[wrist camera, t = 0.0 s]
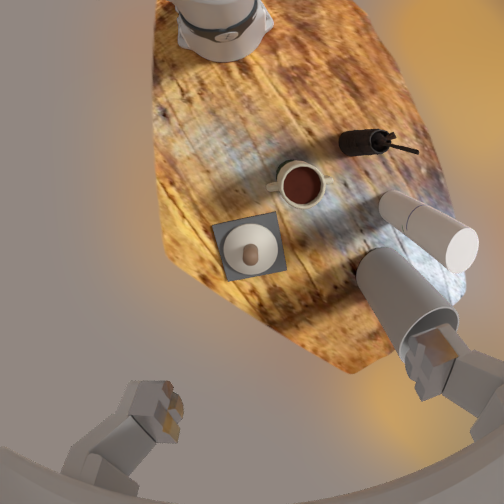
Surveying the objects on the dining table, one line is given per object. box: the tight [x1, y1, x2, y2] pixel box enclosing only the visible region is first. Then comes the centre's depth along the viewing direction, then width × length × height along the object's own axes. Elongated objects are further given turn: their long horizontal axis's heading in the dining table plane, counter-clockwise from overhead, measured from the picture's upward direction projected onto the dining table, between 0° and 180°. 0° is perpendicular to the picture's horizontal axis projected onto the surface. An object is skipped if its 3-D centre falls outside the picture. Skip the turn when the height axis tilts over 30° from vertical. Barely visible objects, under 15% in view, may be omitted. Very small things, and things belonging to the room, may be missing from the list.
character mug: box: [266, 160, 334, 209], centre depth 46 cm, size 11×7×13 cm, turn 99°
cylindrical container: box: [379, 190, 479, 274], centre depth 43 cm, size 7×7×25 cm
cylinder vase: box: [356, 247, 459, 363], centre depth 49 cm, size 12×12×25 cm
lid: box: [224, 223, 278, 275], centre depth 55 cm, size 11×11×5 cm
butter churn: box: [339, 129, 419, 156], centre depth 36 cm, size 9×10×28 cm
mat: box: [212, 212, 287, 282], centre depth 58 cm, size 13×13×1 cm
